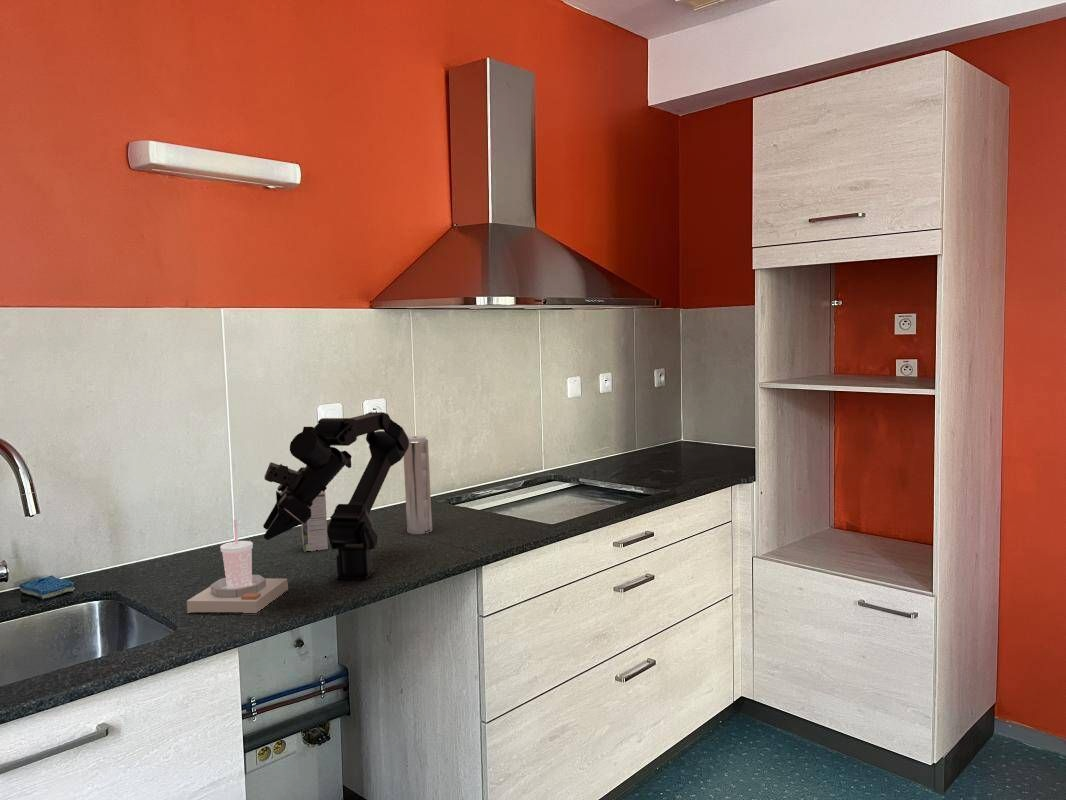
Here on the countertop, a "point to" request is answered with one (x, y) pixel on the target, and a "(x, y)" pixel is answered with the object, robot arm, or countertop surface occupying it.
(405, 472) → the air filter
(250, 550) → the beverage cup
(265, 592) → the base
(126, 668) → the countertop surface
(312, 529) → the syrup box
